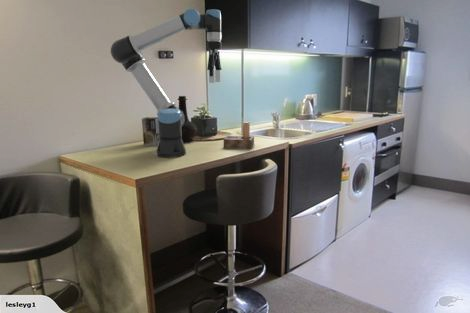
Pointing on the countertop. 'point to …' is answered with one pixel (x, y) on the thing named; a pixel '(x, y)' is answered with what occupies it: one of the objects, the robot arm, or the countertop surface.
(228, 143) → the socket block
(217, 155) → the countertop surface
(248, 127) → the peg
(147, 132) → the coffee box
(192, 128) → the glass bottle
